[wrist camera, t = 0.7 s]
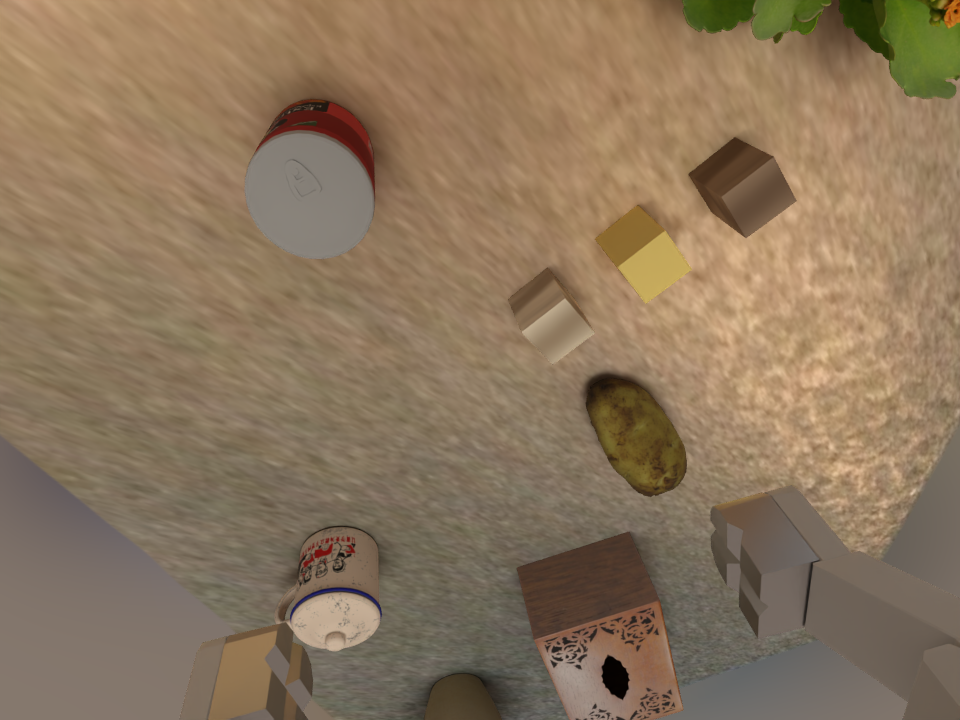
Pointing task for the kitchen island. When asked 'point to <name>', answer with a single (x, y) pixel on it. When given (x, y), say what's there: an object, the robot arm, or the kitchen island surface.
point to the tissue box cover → (602, 632)
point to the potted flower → (859, 32)
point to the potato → (636, 436)
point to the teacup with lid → (335, 590)
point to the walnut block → (742, 186)
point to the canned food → (313, 181)
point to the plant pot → (460, 700)
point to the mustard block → (643, 253)
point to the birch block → (550, 316)
